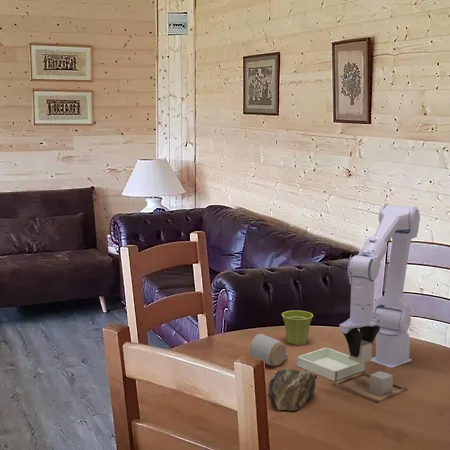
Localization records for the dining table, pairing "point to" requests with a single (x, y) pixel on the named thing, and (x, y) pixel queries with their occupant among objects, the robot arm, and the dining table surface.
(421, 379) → the dining table surface
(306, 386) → the rock
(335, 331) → the dining table surface
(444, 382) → the dining table surface
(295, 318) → the plant pot
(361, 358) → the stone
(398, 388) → the wooden tray
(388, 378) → the stone
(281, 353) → the ceramic mug
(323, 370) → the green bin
